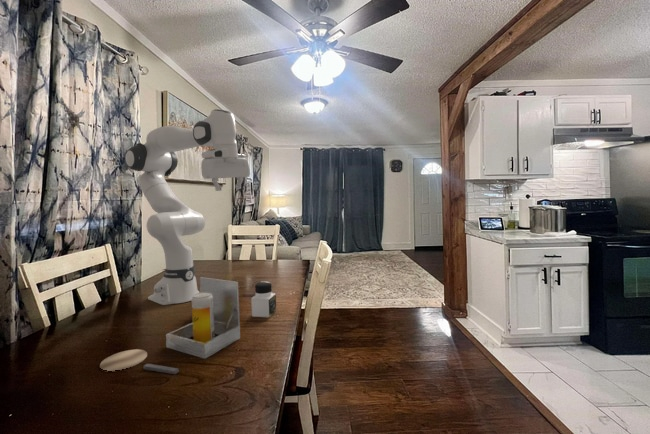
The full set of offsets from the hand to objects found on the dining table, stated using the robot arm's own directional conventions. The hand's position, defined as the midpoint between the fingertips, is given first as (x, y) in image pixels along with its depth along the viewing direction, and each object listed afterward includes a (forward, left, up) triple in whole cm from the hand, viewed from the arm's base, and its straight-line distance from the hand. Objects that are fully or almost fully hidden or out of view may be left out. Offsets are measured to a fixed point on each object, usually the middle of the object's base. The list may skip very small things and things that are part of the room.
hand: (228, 189), depth 121 cm
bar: (+14, -42, -48) cm, 65 cm away
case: (+12, -26, -48) cm, 55 cm away
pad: (0, -43, -48) cm, 64 cm away
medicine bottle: (+14, +1, -48) cm, 50 cm away
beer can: (+12, -26, -48) cm, 55 cm away
